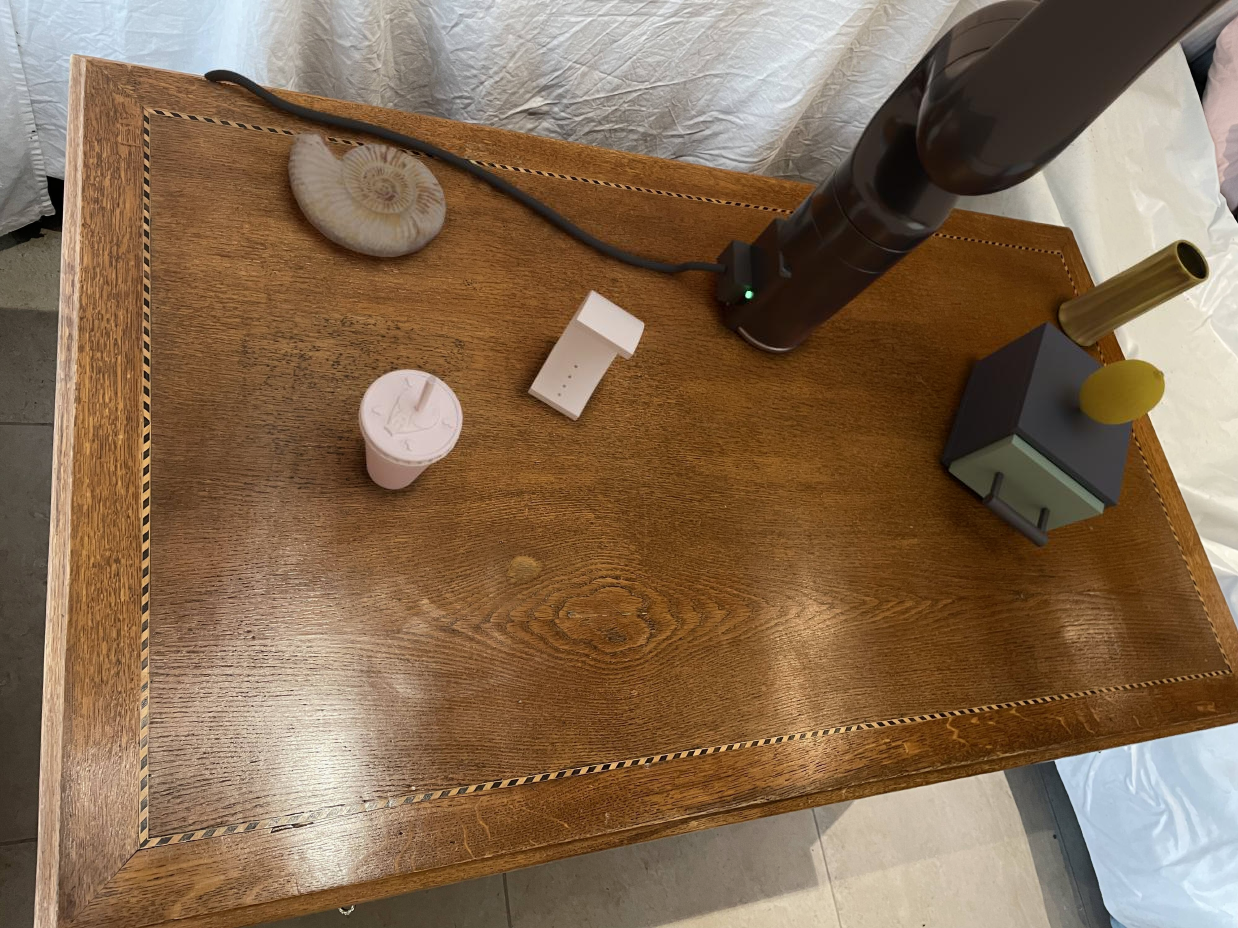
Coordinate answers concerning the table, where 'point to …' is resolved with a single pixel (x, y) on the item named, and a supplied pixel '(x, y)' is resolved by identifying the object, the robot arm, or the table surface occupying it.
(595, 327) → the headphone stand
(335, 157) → the fossil
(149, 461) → the table surface
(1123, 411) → the lemon
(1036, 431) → the cabinet
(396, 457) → the smoothie
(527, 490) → the table surface
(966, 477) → the drawer
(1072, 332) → the vase
